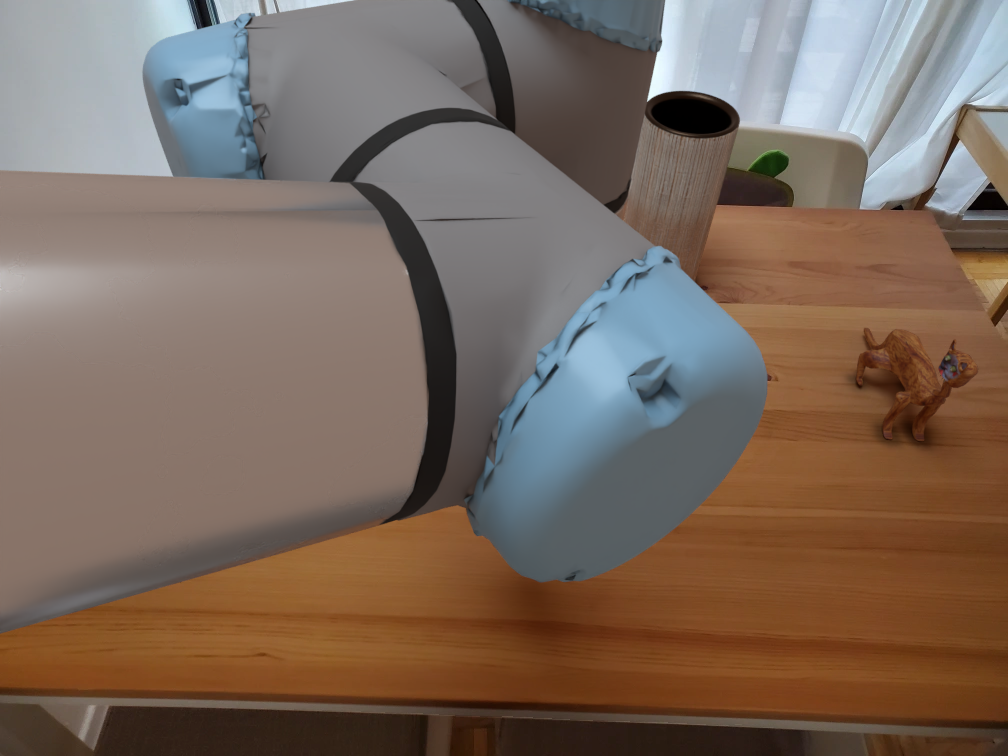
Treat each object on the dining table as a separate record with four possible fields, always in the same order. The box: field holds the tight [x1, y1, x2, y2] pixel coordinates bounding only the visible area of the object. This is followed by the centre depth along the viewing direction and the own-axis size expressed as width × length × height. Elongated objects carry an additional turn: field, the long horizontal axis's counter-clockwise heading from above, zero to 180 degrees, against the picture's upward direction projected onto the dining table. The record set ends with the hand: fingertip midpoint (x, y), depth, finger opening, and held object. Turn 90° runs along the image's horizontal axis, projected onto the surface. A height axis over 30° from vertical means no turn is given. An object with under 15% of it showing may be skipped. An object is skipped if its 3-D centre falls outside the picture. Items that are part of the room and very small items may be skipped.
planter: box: [624, 90, 741, 283], centre depth 83 cm, size 10×10×23 cm
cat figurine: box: [855, 327, 980, 442], centre depth 75 cm, size 18×7×14 cm, turn 177°
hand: (519, 504), depth 54 cm, fingers closed on downlight, 7 cm apart
